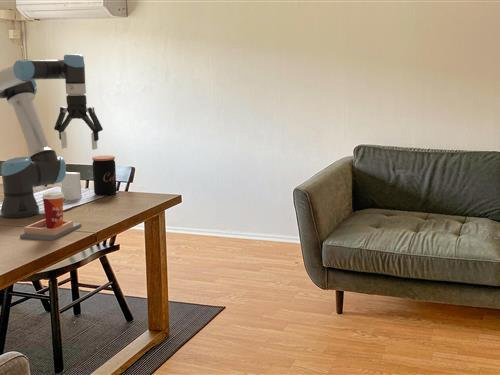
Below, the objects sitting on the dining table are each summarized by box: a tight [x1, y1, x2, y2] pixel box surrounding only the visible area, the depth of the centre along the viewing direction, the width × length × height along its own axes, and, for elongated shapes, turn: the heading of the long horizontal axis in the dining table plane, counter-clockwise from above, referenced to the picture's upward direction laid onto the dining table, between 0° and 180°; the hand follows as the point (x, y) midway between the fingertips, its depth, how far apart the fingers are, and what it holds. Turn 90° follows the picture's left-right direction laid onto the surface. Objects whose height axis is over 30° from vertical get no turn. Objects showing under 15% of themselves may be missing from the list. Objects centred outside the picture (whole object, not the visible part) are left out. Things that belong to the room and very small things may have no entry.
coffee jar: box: [92, 155, 117, 197], centre depth 295 cm, size 11×11×18 cm
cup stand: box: [19, 218, 82, 242], centre depth 230 cm, size 13×20×3 cm, turn 164°
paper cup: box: [41, 191, 64, 229], centre depth 227 cm, size 8×8×14 cm
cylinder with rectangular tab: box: [60, 171, 83, 201], centre depth 287 cm, size 9×9×12 cm
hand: (79, 148), depth 244 cm, fingers open, 13 cm apart
